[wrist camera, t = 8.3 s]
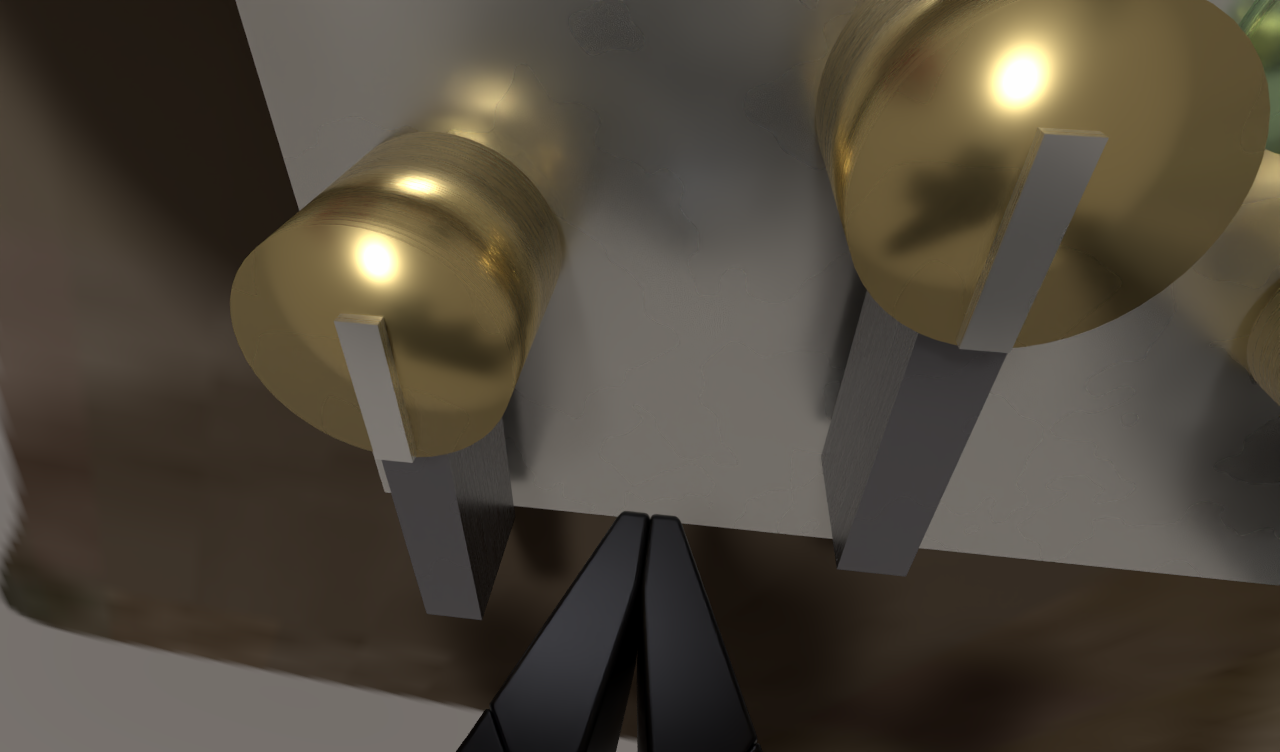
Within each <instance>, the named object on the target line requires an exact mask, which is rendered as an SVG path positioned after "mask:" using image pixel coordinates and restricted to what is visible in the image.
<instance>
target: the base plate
mask: <svg viewBox="0 0 1280 752" xmlns="http://www.w3.org/2000/svg"><path fill="white" fill-rule="evenodd" d="M864 1H865V0H236V4H237V7H238V10H239V14H240V17H241V20H242V23H243V27H244V30H245V33H246V37H247V40H248V43H249V47H250V50H251V53H252V56H253V60H254V63H255V66H256V70H257V73H258V76H259V79H260V83H261V86H262V89H263V93H264V96H265V99H266V102H267V106H268V109H269V112H270V116H271V119H272V122H273V126H274V129H275V132H276V135H277V139H278V142H279V145H280V149H281V152H282V155H283V158H284V162H285V165H286V168H287V172H288V175H289V178H290V181H291V185H292V188H293V191H294V195H295V198H296V201H297V205H298V208H299V211H300V210H301V209H302V208H304V207H305V206H306V205H307V204H308V203H310V202H311V201H312V200H313V199H314V198H315V197H317V196H318V195H319V194H320V193H321V192H323V191H324V190H325V189H326V188H327V187H328V186H330V185H331V184H332V183H333V182H334V181H336V180H337V179H338V178H339V177H340V176H341V175H343V174H344V173H345V172H346V171H347V170H349V169H350V168H351V167H352V166H353V165H354V164H356V163H357V162H358V161H359V160H360V159H362V158H363V157H364V156H365V155H366V154H367V153H369V152H370V151H371V150H373V149H374V148H375V147H377V146H378V145H380V144H381V143H383V142H385V141H387V140H389V139H392V138H394V137H398V136H401V135H404V134H409V133H416V132H440V133H448V134H453V135H457V136H461V137H465V138H468V139H471V140H473V141H476V142H478V143H481V144H483V145H485V146H487V147H489V148H490V149H492V150H494V151H496V152H498V153H499V154H501V155H502V156H503V157H505V158H506V159H508V160H509V161H511V162H512V163H513V164H514V165H515V166H516V167H518V168H519V169H520V170H521V171H522V172H523V173H524V174H525V175H526V176H527V177H528V178H529V179H530V180H531V182H532V183H533V184H534V185H535V186H536V188H537V189H538V190H539V192H540V193H541V195H542V196H543V197H544V199H545V201H546V203H547V205H548V206H549V208H550V210H551V212H552V215H553V217H554V220H555V222H556V225H557V229H558V232H559V236H560V243H561V268H560V273H559V277H558V280H557V283H556V286H555V289H554V291H553V294H552V296H551V299H550V301H549V304H548V306H547V309H546V311H545V314H544V316H543V319H542V321H541V324H540V326H539V329H538V331H537V334H536V336H535V339H534V341H533V344H532V346H531V349H530V351H529V354H528V356H527V359H526V361H525V364H524V366H523V369H522V371H521V374H520V376H519V378H518V381H517V383H516V386H515V388H514V391H513V393H512V396H511V398H510V401H509V403H508V406H507V408H506V410H505V412H504V414H503V416H502V420H503V428H504V435H505V443H506V450H507V458H508V466H509V473H510V481H511V489H512V496H513V504H514V506H521V507H531V508H541V509H550V510H560V511H569V512H579V513H589V514H598V515H608V516H617V517H618V516H619V515H620V514H621V513H622V512H623V511H633V512H642V513H647V514H648V515H649V517H650V518H651V516H652V515H654V514H661V515H671V516H676V517H678V518H679V519H680V521H681V523H685V524H694V525H704V526H713V527H723V528H733V529H742V530H752V531H762V532H771V533H781V534H790V535H800V536H810V537H819V538H829V539H833V538H832V531H831V524H830V517H829V510H828V503H827V496H826V489H825V482H824V475H823V468H822V461H821V455H822V452H823V448H824V444H825V441H826V437H827V433H828V430H829V426H830V422H831V419H832V415H833V412H834V408H835V404H836V401H837V397H838V393H839V390H840V386H841V382H842V379H843V375H844V372H845V368H846V364H847V361H848V357H849V353H850V350H851V346H852V342H853V339H854V335H855V332H856V328H857V324H858V321H859V317H860V313H861V310H862V306H863V302H864V299H865V295H866V292H867V289H866V288H865V286H864V285H863V283H862V281H861V279H860V277H859V275H858V273H857V271H856V269H855V267H854V264H853V261H852V257H851V254H850V251H849V247H848V244H847V240H846V237H845V233H844V230H843V226H842V223H841V219H840V216H839V212H838V209H837V205H836V202H835V198H834V195H833V191H832V188H831V184H830V181H829V177H828V174H827V170H826V167H825V164H824V160H823V157H822V153H821V150H820V146H819V143H818V136H817V129H816V103H817V95H818V89H819V85H820V81H821V77H822V73H823V70H824V67H825V64H826V62H827V59H828V56H829V54H830V52H831V50H832V48H833V46H834V44H835V42H836V40H837V38H838V36H839V34H840V33H841V31H842V30H843V28H844V27H845V25H846V24H847V22H848V21H849V19H850V18H851V16H852V15H853V14H854V13H855V11H856V10H857V9H858V8H859V7H860V6H861V4H862V3H863V2H864ZM1207 1H1209V2H1211V3H1213V4H1214V5H1216V6H1217V7H1218V8H1219V9H1221V10H1222V11H1223V12H1224V13H1226V14H1227V15H1228V16H1230V17H1231V18H1232V19H1233V20H1234V21H1235V22H1236V23H1237V24H1238V25H1239V27H1240V28H1241V29H1242V30H1243V31H1244V33H1245V34H1246V35H1247V36H1248V37H1249V39H1250V40H1251V42H1252V44H1253V46H1254V48H1255V50H1256V52H1257V54H1258V55H1259V57H1260V59H1261V62H1262V65H1263V68H1264V72H1265V75H1266V79H1267V82H1268V89H1269V100H1270V120H1269V132H1268V138H1267V142H1266V146H1265V150H1264V154H1263V159H1262V162H1261V164H1260V167H1259V169H1258V172H1257V175H1256V177H1255V180H1254V182H1253V185H1252V187H1251V189H1250V190H1249V192H1248V194H1247V196H1246V198H1245V200H1244V202H1243V203H1242V205H1241V207H1240V209H1239V210H1238V212H1237V213H1236V215H1235V216H1234V218H1233V219H1232V221H1231V222H1230V223H1229V225H1228V226H1227V228H1226V229H1225V231H1224V232H1223V233H1222V234H1221V236H1220V237H1219V238H1218V239H1217V240H1216V241H1215V243H1214V244H1213V245H1212V246H1211V247H1210V248H1209V250H1208V251H1207V252H1206V253H1205V254H1204V255H1203V256H1202V257H1201V258H1200V259H1199V260H1198V261H1197V262H1196V263H1195V264H1194V265H1193V266H1192V267H1191V268H1189V269H1188V270H1187V271H1186V272H1185V273H1184V274H1183V275H1182V276H1180V277H1179V278H1178V279H1177V280H1175V281H1174V282H1173V283H1172V284H1170V285H1169V286H1168V287H1167V288H1165V289H1164V290H1163V291H1161V292H1160V293H1158V294H1157V295H1155V296H1154V297H1152V298H1151V299H1149V300H1148V301H1146V302H1145V303H1143V304H1142V305H1140V306H1139V307H1137V308H1135V309H1133V310H1131V311H1130V312H1128V313H1126V314H1124V315H1122V316H1121V317H1119V318H1117V319H1115V320H1112V321H1110V322H1108V323H1106V324H1103V325H1101V326H1099V327H1097V328H1095V329H1092V330H1089V331H1086V332H1083V333H1081V334H1078V335H1075V336H1072V337H1069V338H1065V339H1061V340H1057V341H1053V342H1049V343H1046V344H1039V345H1033V346H1027V347H1019V348H1012V350H1011V352H1010V353H1007V356H1006V358H1005V360H1004V362H1003V364H1002V366H1001V369H1000V371H999V373H998V375H997V377H996V380H995V382H994V384H993V386H992V388H991V391H990V393H989V395H988V397H987V399H986V402H985V404H984V406H983V408H982V410H981V413H980V415H979V417H978V419H977V421H976V424H975V426H974V428H973V430H972V432H971V435H970V437H969V439H968V441H967V443H966V446H965V448H964V450H963V452H962V454H961V457H960V459H959V461H958V463H957V465H956V467H955V470H954V472H953V474H952V476H951V478H950V481H949V483H948V485H947V487H946V489H945V492H944V494H943V496H942V498H941V500H940V503H939V505H938V507H937V509H936V511H935V514H934V516H933V518H932V520H931V522H930V525H929V527H928V529H927V531H926V533H925V536H924V538H923V540H922V542H921V544H920V547H919V548H925V549H935V550H944V551H954V552H963V553H973V554H983V555H992V556H1002V557H1011V558H1021V559H1031V560H1040V561H1050V562H1059V563H1069V564H1079V565H1088V566H1098V567H1107V568H1117V569H1127V570H1136V571H1146V572H1156V573H1165V574H1175V575H1184V576H1194V577H1204V578H1213V579H1223V580H1232V581H1242V582H1252V583H1261V584H1271V585H1280V406H1279V405H1278V404H1277V403H1276V402H1275V401H1274V400H1273V399H1272V398H1271V397H1270V396H1269V395H1268V394H1267V393H1266V392H1265V391H1264V390H1263V389H1262V388H1261V387H1260V386H1259V384H1258V383H1257V382H1256V381H1255V380H1254V378H1253V376H1252V374H1251V372H1250V370H1249V367H1248V363H1247V344H1248V339H1249V335H1250V333H1251V330H1252V327H1253V325H1254V323H1255V321H1256V319H1257V317H1258V315H1259V314H1260V312H1261V310H1262V309H1263V308H1264V306H1265V305H1266V303H1267V302H1268V301H1269V299H1270V298H1271V297H1272V296H1273V295H1274V294H1275V292H1276V291H1277V290H1278V289H1279V288H1280V0H1207ZM373 455H374V452H373ZM374 458H375V456H374ZM375 461H376V465H377V468H378V471H379V475H380V478H381V481H382V484H383V488H384V491H385V492H387V493H391V491H390V487H389V484H388V480H387V477H386V474H385V470H384V467H383V464H382V460H379V459H375Z"/></svg>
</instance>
